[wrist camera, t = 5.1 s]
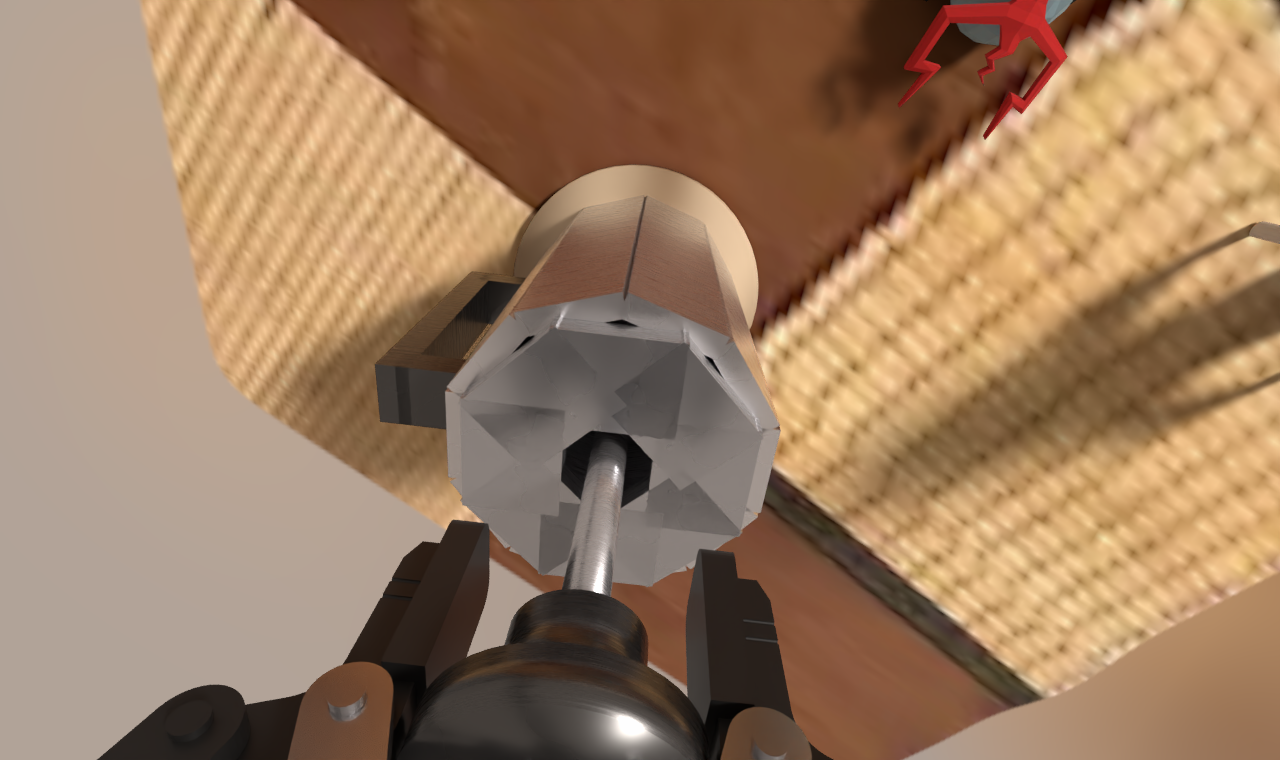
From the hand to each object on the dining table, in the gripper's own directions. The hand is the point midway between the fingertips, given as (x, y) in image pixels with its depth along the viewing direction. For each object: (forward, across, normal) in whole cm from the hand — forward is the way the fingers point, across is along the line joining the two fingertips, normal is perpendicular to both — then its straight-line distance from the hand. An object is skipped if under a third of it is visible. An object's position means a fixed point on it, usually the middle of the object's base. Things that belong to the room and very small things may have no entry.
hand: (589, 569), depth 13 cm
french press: (+19, +1, 0) cm, 19 cm away
